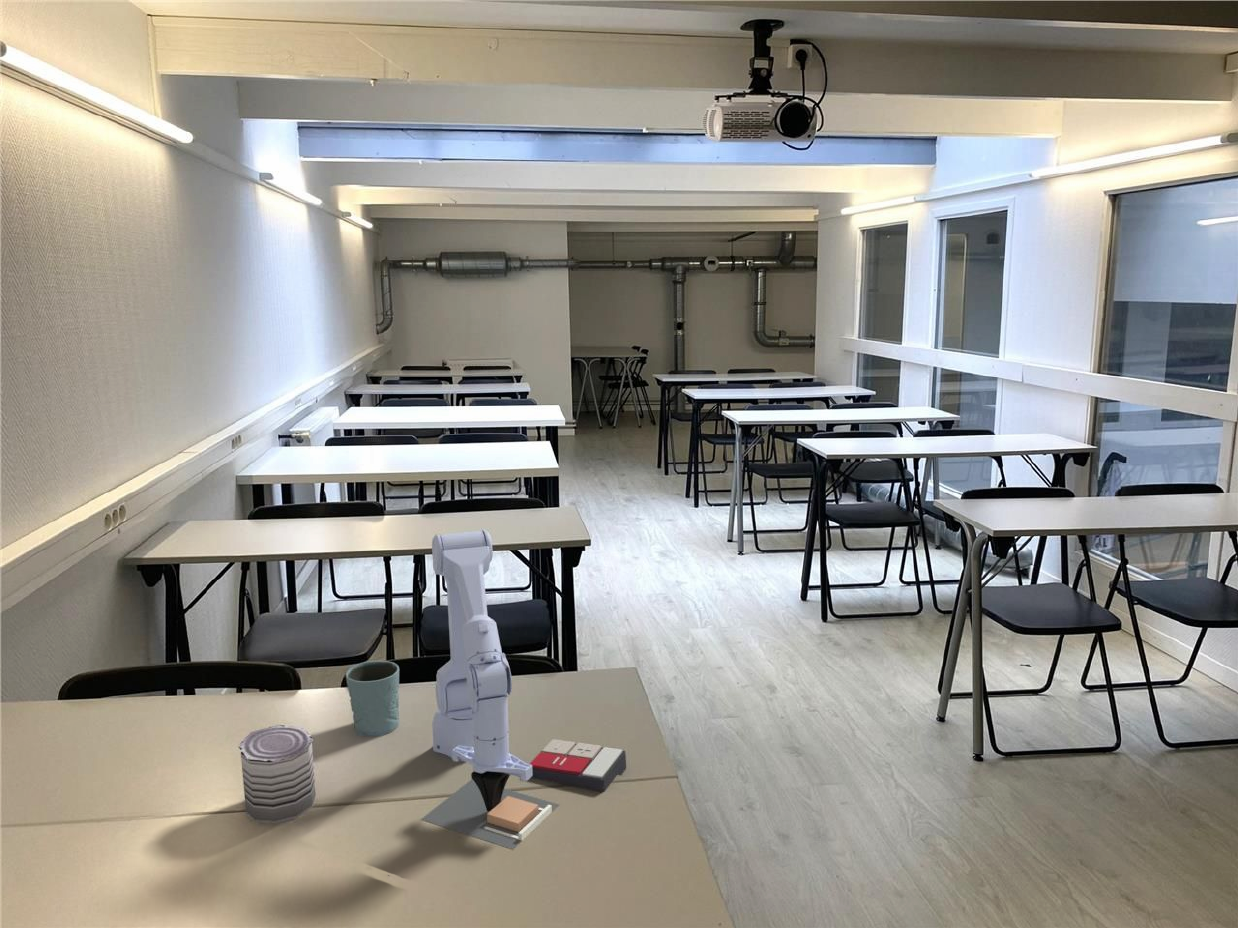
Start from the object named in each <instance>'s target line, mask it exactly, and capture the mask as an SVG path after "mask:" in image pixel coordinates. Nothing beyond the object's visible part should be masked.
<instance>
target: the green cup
mask: <svg viewBox="0 0 1238 928" xmlns="http://www.w3.org/2000/svg"><path fill="white" fill-rule="evenodd" d="M345 679H346V684H347V689H348V695H349V697H350V700H349V701H350V707H351V711H352V712H353V715H352V719H353V725H354V726H353V727H354V731H355V732H356V734H358V735H360V736H363V737H368V738H369V737H374V738H375V737H381V736H384V735H385V736H386V735H388V734H390V733H392V732H394V731H395V730H397V728H398V727H399V723H400V720H399V719H400V712H399V709H400V708H399V705H400V701H399V700H400V694H399V688H400V667H399V665H398V664H397V663H395V662H393V661H388V660H372V661H371V660H370V661H366V662H361V663H359V664H356V665H354V666H351V667H350V668H349V669H348V670H347V671H346V673H345Z"/></svg>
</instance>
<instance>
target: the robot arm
mask: <svg viewBox="0 0 1238 928" xmlns="http://www.w3.org/2000/svg"><path fill="white" fill-rule="evenodd" d="M431 551H432V552H431V553H432V567H433V572H434V574H435V575H438V576H442V577H443V578H444V580H445V582H446V594H447V595H446V596H447V598H446V599H447V614H448V617H447V618H448V631H449V634H448V635H449V649H450V660H449V661H448V662H446V663H445V664H444V665H443V666H441V667H440V668H439V669H438V670H437V673H436V683H435V698H436V705H437V710H436V711H435V713H434V716H433V719H432V725H431V726H432V745H433V752H435V753H439V754H443V755H445V756H448V757H450V758H451V760H452V761H453V762H455V763H458V762H459V761H461V762H464V763H468V764H469V765H470V766H472V772H471V773H470V774H471V775H470V777H471V779H473V781H474V782H475V783H476V785H477V786H478V788H479V790H480V792H481V795H482V797H483V800H484V803H485V806H486V809H487V811H489V812H490V811H491V810H492V809H493V808H495V807H496V806H497V805H498V804H499V803H500V802H501V797H502V794H503V790H504V789H505V787H506V785H507V782H508V779H509V777H510V776H514V777H518V778H520V780H521V781H523V782H527V781H529V780H530V779H531V778H532V776H533V774H532V765H530V763H527V762H525V761H523V760H522V759H519V758H518V757H517V756H515V755H513V754H511V753H510V744H509V743H510V741H509V739H510V738H509V706H508V704H509V701H508V700H509V699H508V695H511V694H512V685H513V683H512V682H513V681H512V673H511V668H510V665H509V662H508V660H507V658H506V657H507V656H506V654H505V653H504V652H502V646H501V642H500V636H499V630H498V627H497V622H496V621H495V620H494V619H493V618H491V617H490V616H488V606H487V596H486V587H485V577H484V575H485V574H486V573H488V572H489V570H490V565H491V562H492V560H493V553H494V551H493V541H492V537H491V534H490V533H489V531H487V529H481V530H476V531H465V532H455V533H445V534H444V533H443V534H436V533H435V535H434V536H433V538H432V540H431Z"/></svg>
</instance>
